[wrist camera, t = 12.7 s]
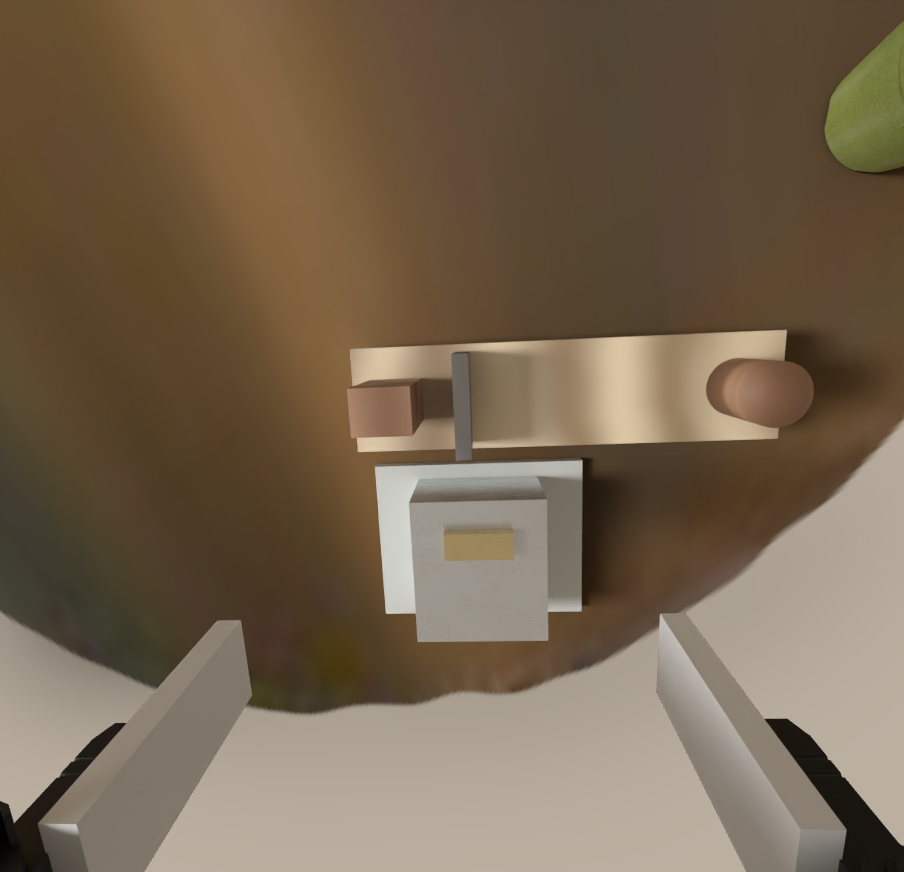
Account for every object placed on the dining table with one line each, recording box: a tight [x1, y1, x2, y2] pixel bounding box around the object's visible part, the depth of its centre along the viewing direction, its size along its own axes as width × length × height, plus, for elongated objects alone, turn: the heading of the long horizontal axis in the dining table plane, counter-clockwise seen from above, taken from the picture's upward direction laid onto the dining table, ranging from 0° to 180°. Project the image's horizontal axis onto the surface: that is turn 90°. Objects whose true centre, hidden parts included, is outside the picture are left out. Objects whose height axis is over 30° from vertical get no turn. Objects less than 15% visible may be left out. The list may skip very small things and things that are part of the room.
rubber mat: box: [375, 458, 582, 614], centre depth 35 cm, size 14×11×1 cm
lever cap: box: [409, 476, 548, 642], centre depth 31 cm, size 9×8×6 cm
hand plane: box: [347, 330, 814, 461], centre depth 28 cm, size 24×6×10 cm, turn 93°
